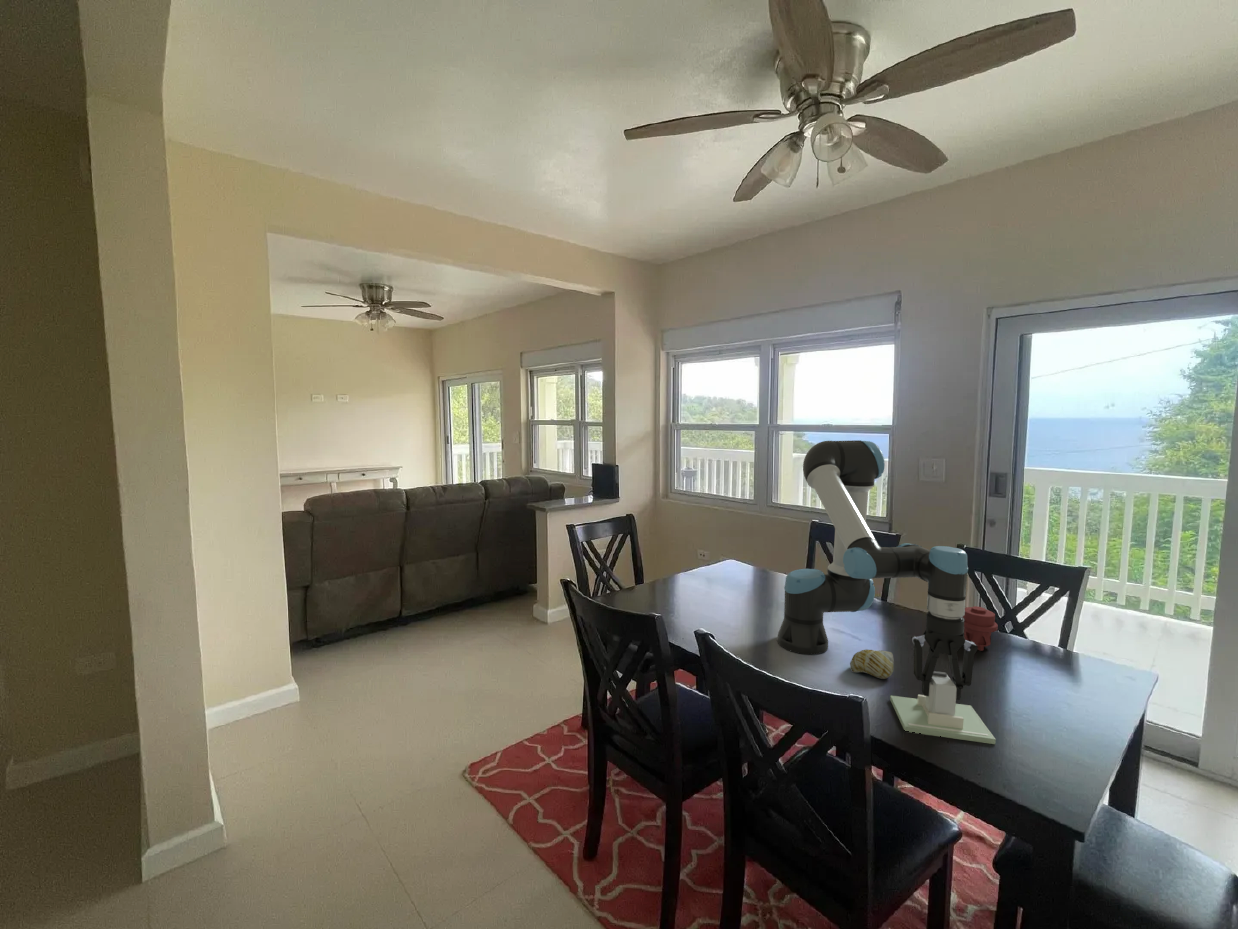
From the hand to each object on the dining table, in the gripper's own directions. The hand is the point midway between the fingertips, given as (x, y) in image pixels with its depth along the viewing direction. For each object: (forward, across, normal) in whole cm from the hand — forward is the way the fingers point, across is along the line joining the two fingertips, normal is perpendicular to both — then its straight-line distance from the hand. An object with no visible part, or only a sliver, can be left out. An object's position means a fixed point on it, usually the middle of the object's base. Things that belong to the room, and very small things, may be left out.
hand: (939, 709), depth 124 cm
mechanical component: (+3, +25, +49) cm, 55 cm away
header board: (+3, 0, 0) cm, 3 cm away
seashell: (+3, -11, +21) cm, 24 cm away
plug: (0, 0, 0) cm, 0 cm away
